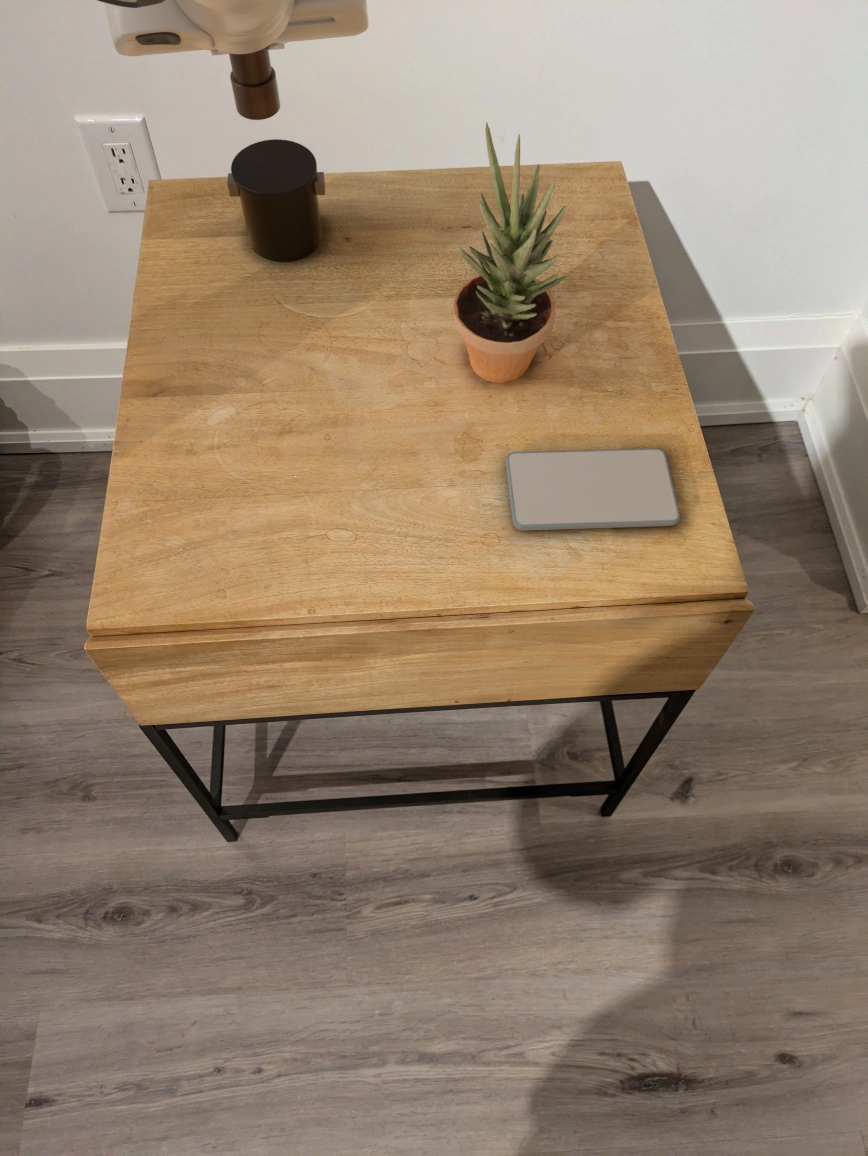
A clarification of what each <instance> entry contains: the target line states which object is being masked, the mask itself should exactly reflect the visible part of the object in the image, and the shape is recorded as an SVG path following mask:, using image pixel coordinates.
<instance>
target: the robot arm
mask: <svg viewBox="0 0 868 1156" xmlns="http://www.w3.org/2000/svg"><path fill="white" fill-rule="evenodd" d="M97 2H101V3H104V6H105V13H106V17H107V21H108V25H109V31H110V34H111V35H110V36H111V39H112V44H113V47H114V49H115V51H116V52H117V53H118V54H119V55H121V56H126V57H143V56H150V55H161V54H162V55H165V54H173V53H185V52H194V51H195V52H196V51H204V50H206V51H210V52H211V55H212V56H222V55H229V53H231V54H249V53H253V52H257V51H259V50H262V49H264V48H266V47H268V50H269V51H274V50H285V44H287V43H290V42H291V43H293V42H304V41H315V40H325V39H335V38H337V39H338V38H346V37H355V36H356V37H357V36H358V35H360V34H362V33H365V32H367V30H368V29H369V13H368V4H367V0H97Z"/></svg>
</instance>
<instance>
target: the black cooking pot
mask: <svg viewBox="0 0 868 1156" xmlns="http://www.w3.org/2000/svg"><path fill="white" fill-rule="evenodd" d="M226 185H227V189H228V194H229V197H230V198H233V197H237V198H239V200H240V205H241V209H242V214H243V219H244V223H245V228H246V233H247V238H248V242H249V245H250V248H251V249H252V250H253V251H254V253H256V255H258V256H259V257H261V258H263V259H265V260H268V261H271V262H272V261H273V262H278V263H288V262H289V263H290V262H295V261H298V260H302V259H305V258H306V257H308V256H310V255H312V254H313V253H314V252H315V251H316V250H317V249H318V248H319V246H320V245H321V243H322V240H323V230H322V229H323V228H322V221H321V214H320V204H319V197H318V196H325V195H326V180H325V172H324V171H318V164H317V160H316V157H315V154H313V152H312V151H311V150H310V149H309V148H308V147H306V146H305V145H303V144H301V143H298V142H296V141H292V140H288V139H281V138H280V139H277V138H276V139H275V138H274V139H265V140H260V141H257V142H254V143H252V144H251V143H250V144H249V145H247V146H245V147H244V148H242V149H241V150H240V151H239V152H238V153H237V154H236V155H235V156H234V158H233V160H232V162H231V166H230V172H229V173H227V179H226Z"/></svg>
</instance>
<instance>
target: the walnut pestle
mask: <svg viewBox="0 0 868 1156" xmlns="http://www.w3.org/2000/svg"><path fill="white" fill-rule="evenodd" d="M228 55H229V56H228V57H229V60H230V61H229V62H230V66H231V71H230V75H229V79H230V84H231V89H232V94H233V98H234V104H235V108H236V111H237V113H238V114H239V115H240V116H241V117H243V118H244V119H248V120H251V121H261V120H263V121H264V120H266V119H270V118H272V117H274V116H275V115H277V113H278V112H279V111H280V109H281V100H280V92H279V88H278V79H277V74H276V70H275V69H274V67H273V66H272V64H271V58H270V50H268V47H266V48H264V49H262V50H259V51H257V52H253V53H249V54H231V53H229V54H228Z"/></svg>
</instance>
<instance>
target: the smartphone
mask: <svg viewBox="0 0 868 1156" xmlns="http://www.w3.org/2000/svg"><path fill="white" fill-rule="evenodd" d="M504 461H505V462H504V463H505V470H506V479H507V486H508V495H509V504H510V512H511V520H512V521H511V523H512V525H513V527H514V528H515V529H517V530H519V531H548V530H549V531H550V530H554V531H555V530H580V529H581V530H582V529H583V530H584V529H586V530H587V529H612V528H614V529H615V528H617V529H618V528H644V527H645V528H648V527H673V526H675V525H677V524H678V523H679V521H680V519H681V514H680V513H681V512H680V509H679V504H678V501H677V500H678V499H677V496H676V492H675V487H674V484H673V480H672V475H671V470H670V465H669V462H668V458H667V454H666V453H665V451H664V450H663V449H660V448H656V447H655V448H654V447H649V448H619V449H618V448H617V449H616V448H615V449H612V448H611V449H579V450H575V449H574V450H543V451H541V450H540V451H539V450H538V451H536V450H535V451H512V452H510V453H508V454H507V455H506V456H505V460H504Z"/></svg>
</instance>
